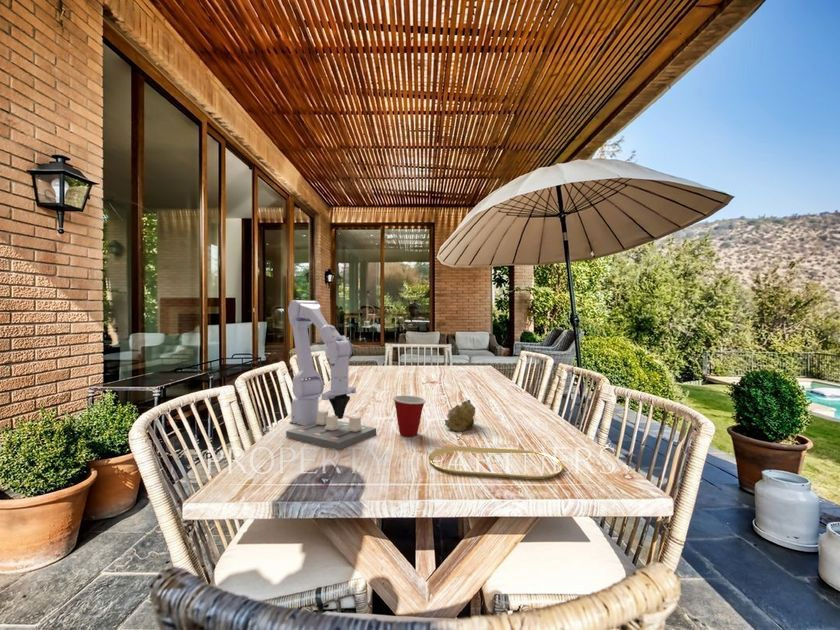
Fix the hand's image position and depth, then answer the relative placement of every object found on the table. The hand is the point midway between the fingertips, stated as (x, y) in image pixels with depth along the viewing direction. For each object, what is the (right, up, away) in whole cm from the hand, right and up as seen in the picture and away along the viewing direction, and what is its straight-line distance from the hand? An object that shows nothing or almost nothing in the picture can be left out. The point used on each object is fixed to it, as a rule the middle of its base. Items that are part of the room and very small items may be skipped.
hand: (339, 418), depth 135 cm
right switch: (+6, -3, -4) cm, 7 cm away
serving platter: (+46, -6, -26) cm, 53 cm away
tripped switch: (-2, -3, -3) cm, 4 cm away
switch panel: (-2, -5, -3) cm, 6 cm away
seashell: (+41, -6, +10) cm, 42 cm away
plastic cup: (+23, -5, 0) cm, 24 cm away
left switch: (-6, -3, +3) cm, 7 cm away
